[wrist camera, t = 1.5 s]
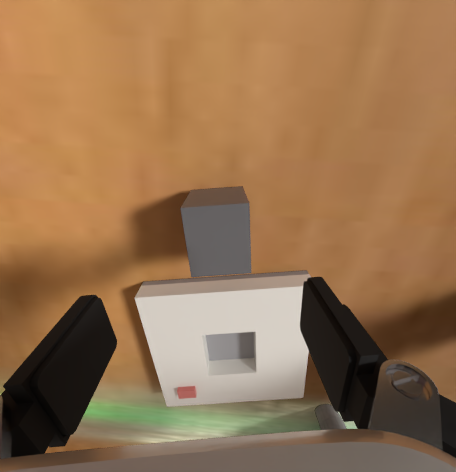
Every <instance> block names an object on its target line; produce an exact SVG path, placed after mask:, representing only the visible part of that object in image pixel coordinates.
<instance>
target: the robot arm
mask: <svg viewBox="0 0 456 472" xmlns="http://www.w3.org/2000/svg"><path fill="white" fill-rule="evenodd" d="M300 330H301V333H302V335H303V338H304V340H305V343H306V345H307V347H308V350H309V352H310V354H311V357H312V359H313V361H314V364H315V366H316V368H317V371H318V373H319V376H320V378H321V380H322V383H323V385H324V387H325V390H326V392H327V394H328V397H329V399H330V401H331V404H332V406H333V408H334V410H335V411H336V412H340V414H341V416H342V419H343V421H344V422H347V421H354V422H355V424H356V426H357V428H358V429H330V430H313V431H297V432H283V433H271V434H259V435H246V436H234V437H222V438H210V439H198V440H187V441H175V442H164V443H152V444H141V445H130V446H119V447H108V448H98V449H87V450H76V451H65V452H55V453H46V454H44V453H45V451H46V450H47V448H48V446H49V447H59V446H65V445H66V443H67V441H68V439H69V437H70V435H72V434H73V433H74V432H75V431H76V429H77V427H78V425H79V423H80V421H81V419H82V417H83V415H84V413H85V411H86V409H87V407H88V405H89V402H90V400H91V398H92V396H93V394H94V392H95V390H96V388H97V386H98V384H99V382H100V380H101V378H102V376H103V373H104V371H105V369H106V367H107V365H108V363H109V361H110V359H111V357H112V355H113V353H114V351H115V349H116V345H117V339H116V336H115V334H114V331H113V329H112V326H111V323H110V321H109V318H108V315H107V313H106V310H105V308H104V305H103V302H102V300H101V298H98V297H97V296H96V295H86V296H81V297H79V298H78V300H77V301H76V302H75V303H74V304H73V305H72V306H71V308H70V309H69V310H68V311H67V312H66V313H65V315H64V316H63V317H62V318H61V319H60V320H59V322H58V323H57V324H56V325H55V326H54V327H53V329H52V330H51V331H50V332H49V333H48V334H47V336H46V337H45V338H44V339H43V340H42V341H41V343H40V344H39V345H38V346H37V347H36V348H35V350H34V351H33V352H32V353H31V354H30V355H29V356H28V358H27V359H26V360H25V361H24V362H23V363H22V365H21V366H20V367H19V368H18V369H17V370H16V372H15V373H14V374H13V375H12V376H11V377H10V379H9V380H8V381H7V382H6V383H5V384H4V386H3V387H4V388H5V389H6V390H5V391H4V392H3V393H2V394H1V395H0V472H456V403H455V402H453V401H451V400H449V399H447V398H445V397H443V396H441V395H440V394H439V393H438V389H437V387H436V386H435V384H434V382H433V381H432V380H431V379H430V378H429V377H428V376H427V375H426V374H425V373H424V372H423V371H421V370H420V369H419V368H417V367H415V366H413V365H411V364H410V363H407V362H404V361H401V360H388V359H387V358H386V357H385V355H384V354H383V353H382V351H381V350H380V349H379V347H378V346H377V345H376V343H375V342H374V341H373V339H372V338H371V337H370V335H369V334H368V333H367V332H366V330H365V329H364V328H363V326H362V325H361V324H360V322H359V321H358V320H357V318H356V317H355V316H354V314H353V313H352V312H351V310H350V309H349V308H348V307H347V306H346V305H342V304H341V302H340V301H339V300H338V298H337V297H336V296H335V294H334V293H333V292H332V290H331V289H330V287H329V286H328V285H327V283H326V282H325V281H324V279H323V278H322V277H311V278H308V279H307V281H304V283H303V294H302V305H301V316H300Z"/></svg>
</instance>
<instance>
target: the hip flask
mask: <svg viewBox="0 0 456 472" xmlns="http://www.w3.org/2000/svg"><path fill="white" fill-rule="evenodd" d="M315 413H316V416H317V419H318V422H319V425H320V428H321V430H330V429H347V428H346V426H345V424H344V422H343V420H342V418H341V417H340V415H339V414H338V412H336V411H335V410H334V408H333V407H332V406H331V405H329V404H323V405H320V406H318V407H317V408H316V409H315Z"/></svg>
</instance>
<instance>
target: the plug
mask: <svg viewBox="0 0 456 472" xmlns="http://www.w3.org/2000/svg"><path fill="white" fill-rule="evenodd" d="M180 209H181V215H182V221H183V227H184V234H185V240H186V246H187V252H188V259H189V265H190V271H191V277H200V276H215V275H229V274H244V273H251V247H250V212H249V201H248V199H247V196H246V194H245V191H244V189H243V186H240V187H226V188H212V189H198V190H191V191H190V193H189V194H188V196H187V198H186V199H185V201H184V203H183V204H182V206H181V208H180Z"/></svg>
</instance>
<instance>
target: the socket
mask: <svg viewBox="0 0 456 472" xmlns="http://www.w3.org/2000/svg"><path fill="white" fill-rule="evenodd" d="M308 278H311V276H310V275H309V273H308V272H307V270H305V271H291V272H276V273H262V274H248V275H233V276H219V277H204V278H190V279H175V280H161V281H147V282H143V283H142V285H141V287H140V289H139V291H138V292H137V294H136V296H135V301H136V305H137V308H138V311H139V315H140V318H141V321H142V325H143V328H144V331H145V335H146V338H147V342H148V345H149V348H150V352H151V355H152V358H153V362H154V365H155V368H156V372H157V375H158V378H159V382H160V385H161V389H162V392H163V395H164V399H165V402H166V405H167V407H171V406H186V405H202V404H217V403H232V402H247V401H263V400H278V399H293V398H303V396H304V387H305V379H306V370H307V361H308V353H309V350H308V347H307V345H306V343H305V340H304V338H303V335H302V333H301V330H300V316H301V305H302V294H303V283H304V281H307V279H308Z"/></svg>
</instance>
